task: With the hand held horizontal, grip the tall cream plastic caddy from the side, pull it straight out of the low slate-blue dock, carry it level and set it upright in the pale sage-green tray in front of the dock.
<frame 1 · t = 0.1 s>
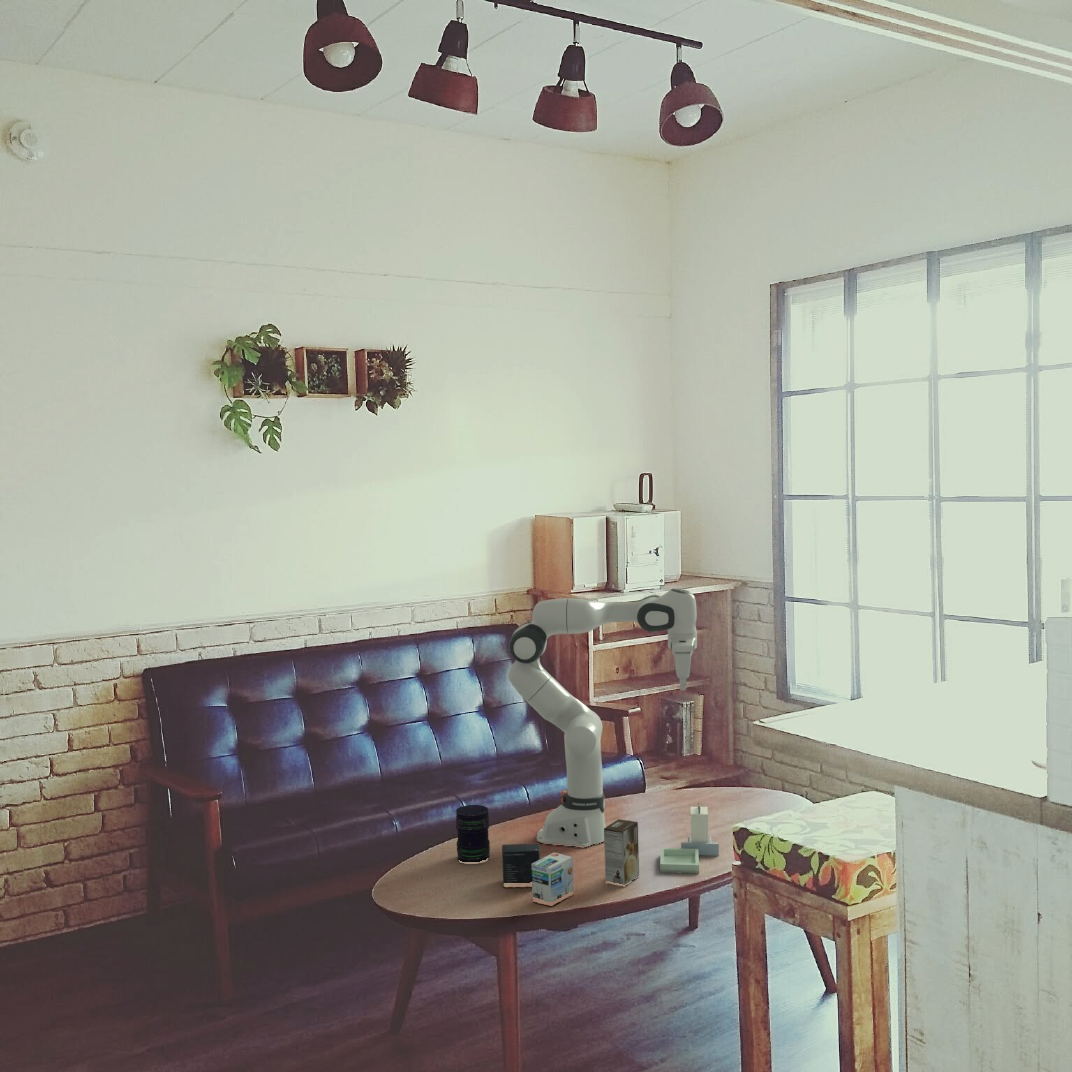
hand: (682, 686, 344), 48 cm above the table, tool pointing down, fingers open, 8 cm apart
dock: (699, 849, 339), on the table
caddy: (699, 849, 339), resting in dock
storage jar: (473, 859, 335), on the table
box: (521, 884, 315), on the table
light bulb box: (553, 899, 304), on the table
coffee box: (622, 881, 316), on the table
tray: (679, 864, 327), on the table
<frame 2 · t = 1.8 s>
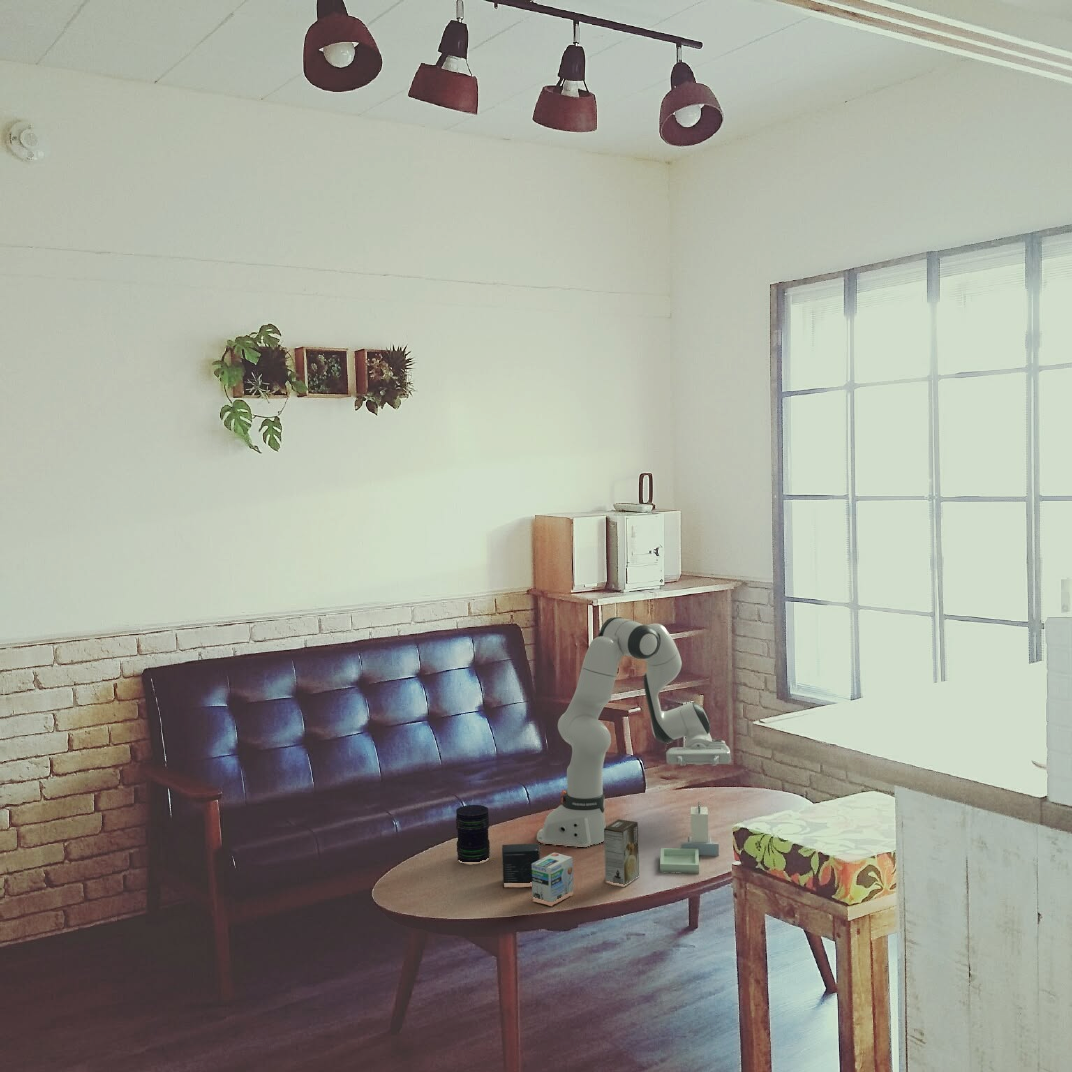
hand: (698, 763, 350), 23 cm above the table, tool horizontal, fingers open, 8 cm apart
nothing on the table moved.
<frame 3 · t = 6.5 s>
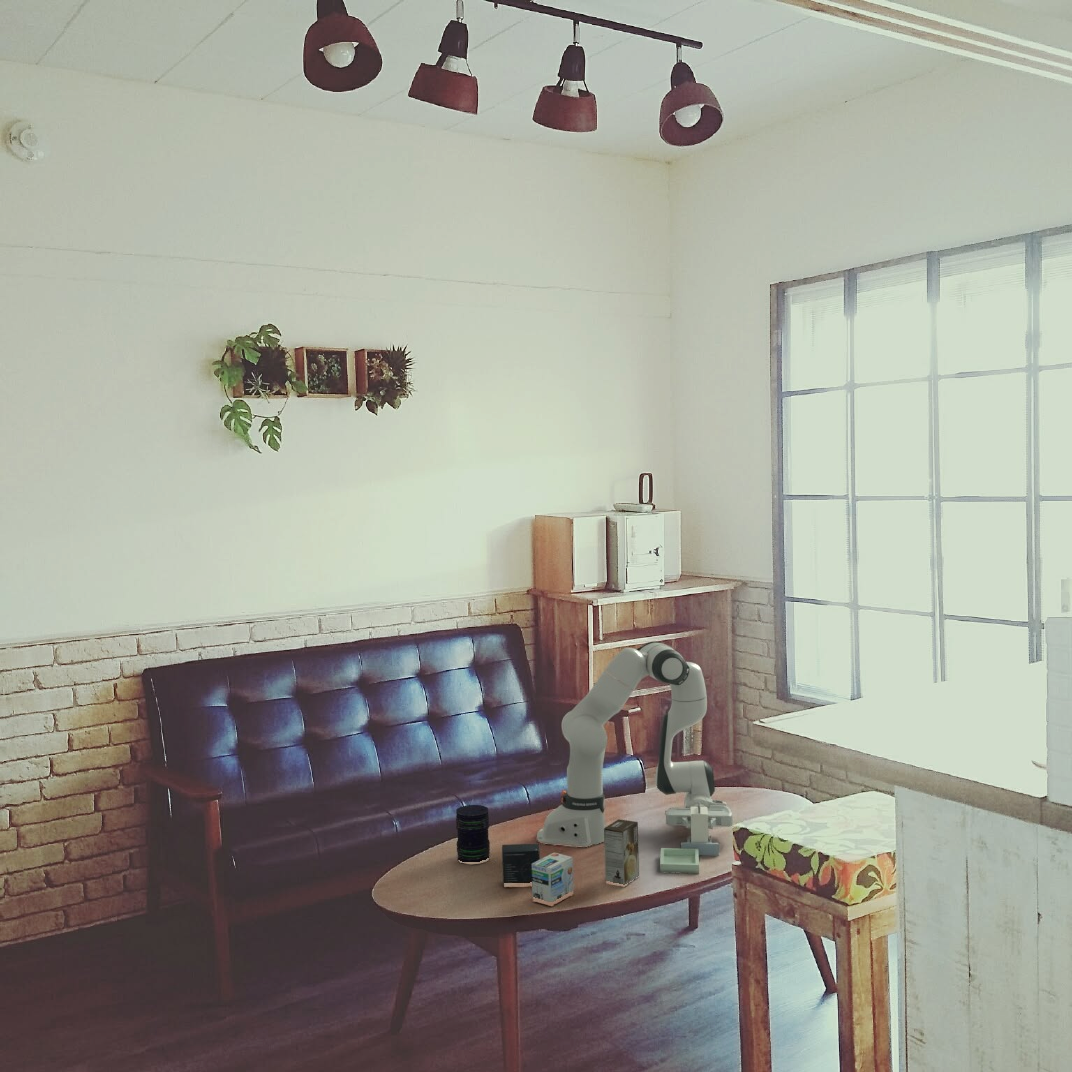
hand: (699, 825, 337), 8 cm above the table, tool horizontal, fingers closed on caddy, 5 cm apart
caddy: (699, 849, 339), resting in dock, touching gripper
everything else where it was.
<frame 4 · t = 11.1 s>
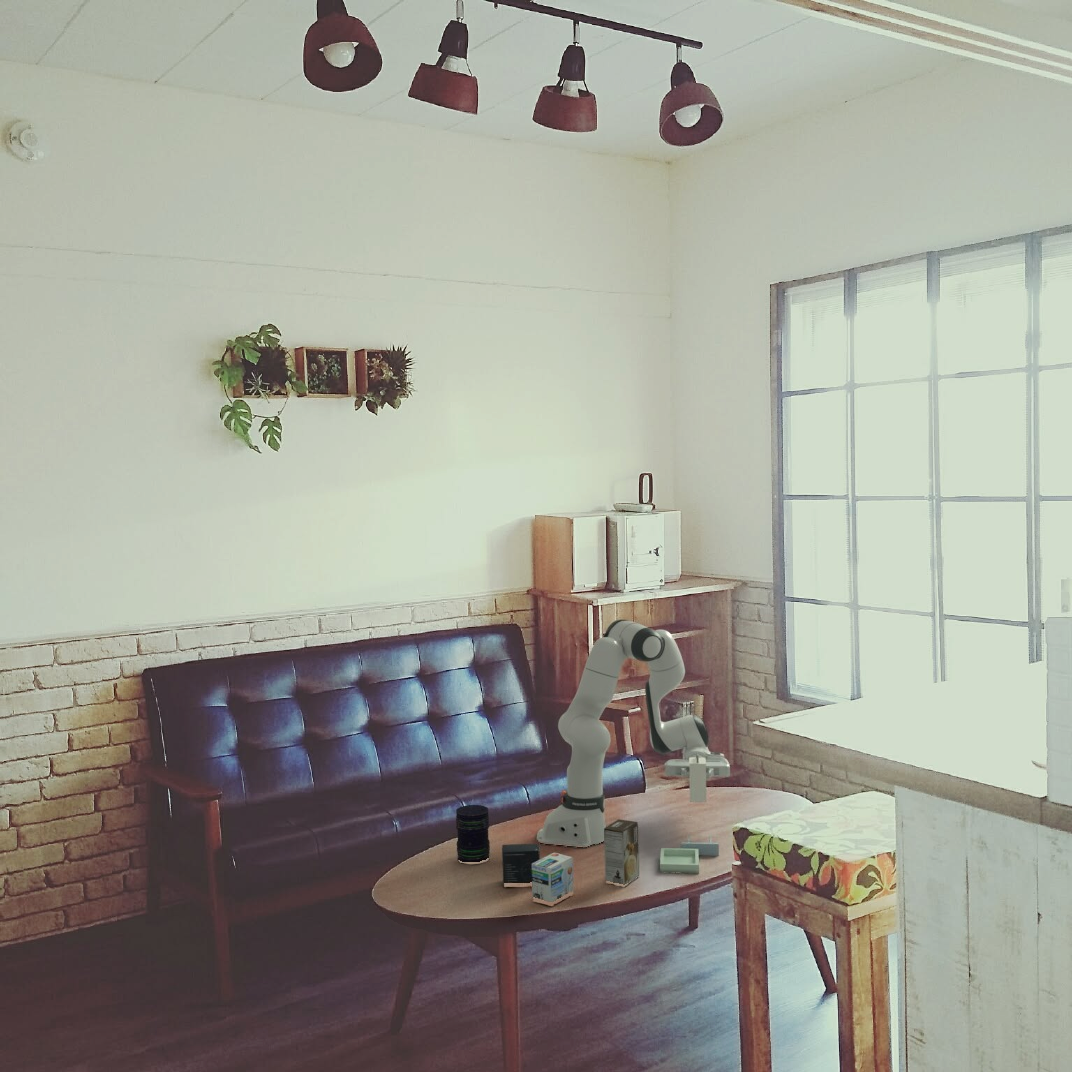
hand: (697, 775, 347), 20 cm above the table, tool horizontal, fingers closed on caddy, 5 cm apart
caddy: (697, 798, 348), point 12 cm above the table, touching gripper
everything else where it was.
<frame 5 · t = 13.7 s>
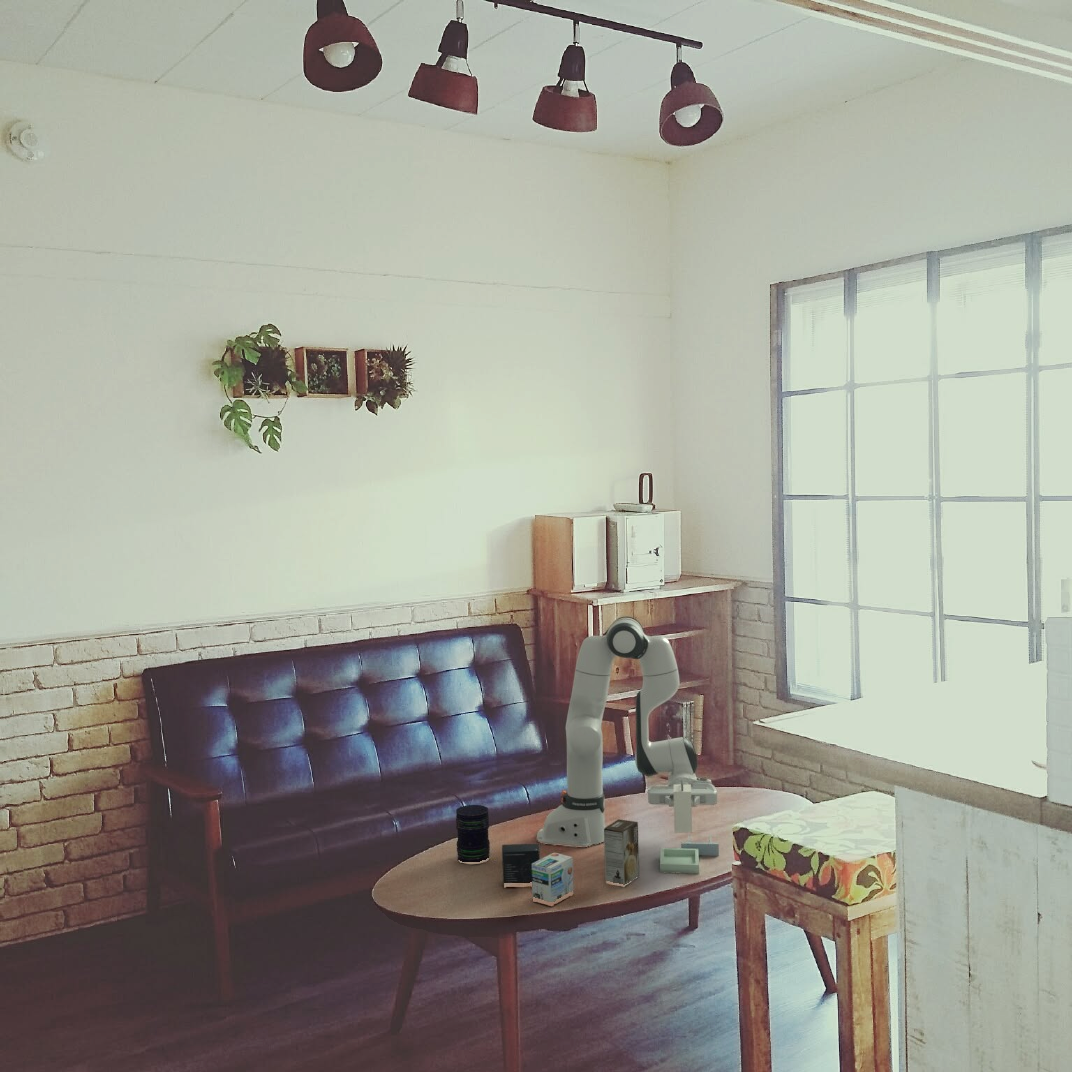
hand: (682, 804, 324), 18 cm above the table, tool horizontal, fingers closed on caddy, 5 cm apart
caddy: (683, 828, 326), point 11 cm above the table, touching gripper
everything else where it was.
when the fingers open (10 cm above the table, at t = 15.9 s): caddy drops 1 cm, resting on tray.
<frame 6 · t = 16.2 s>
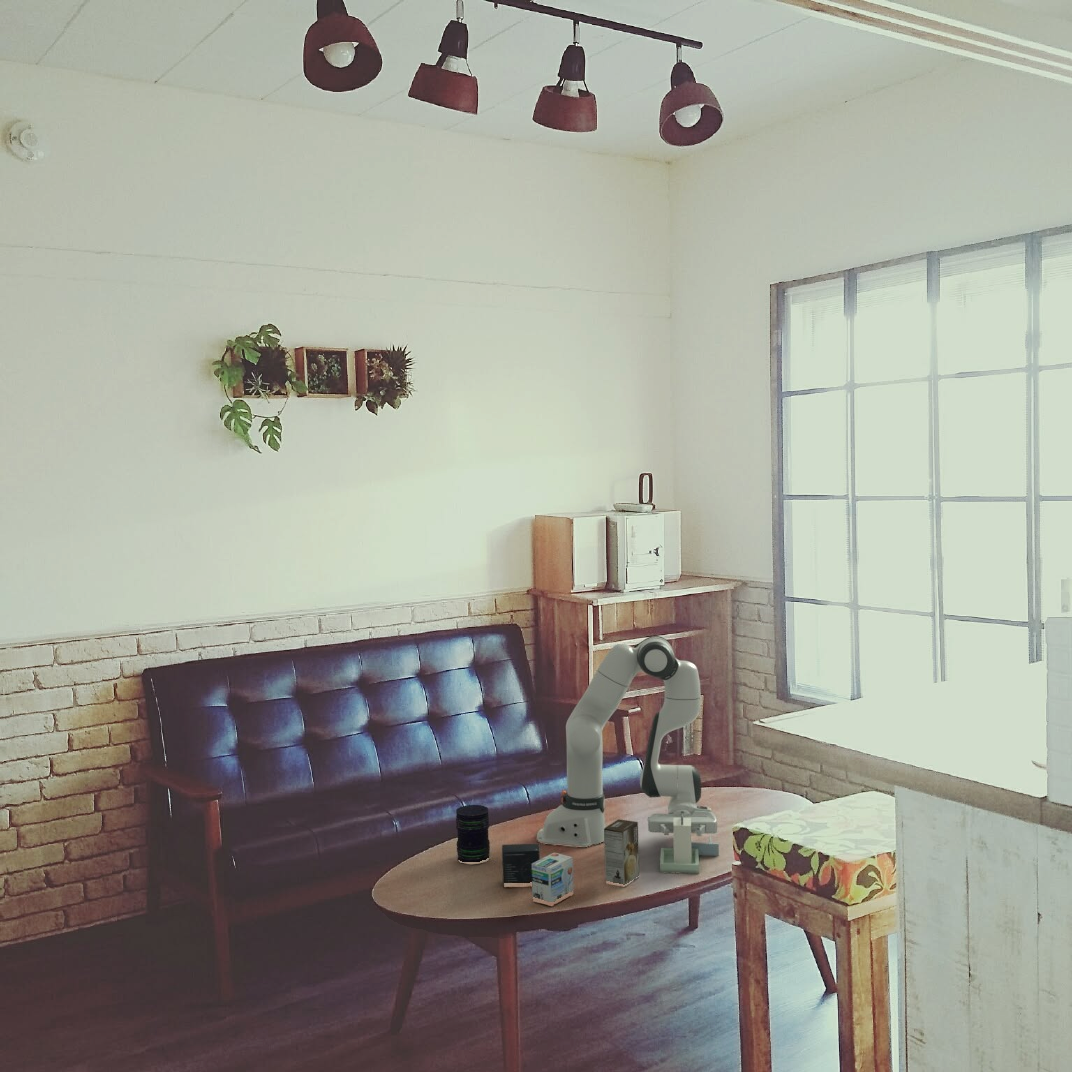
hand: (682, 832, 325), 10 cm above the table, tool horizontal, fingers open, 8 cm apart
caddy: (682, 862, 326), point 1 cm above the table, touching tray
everything else where it was.
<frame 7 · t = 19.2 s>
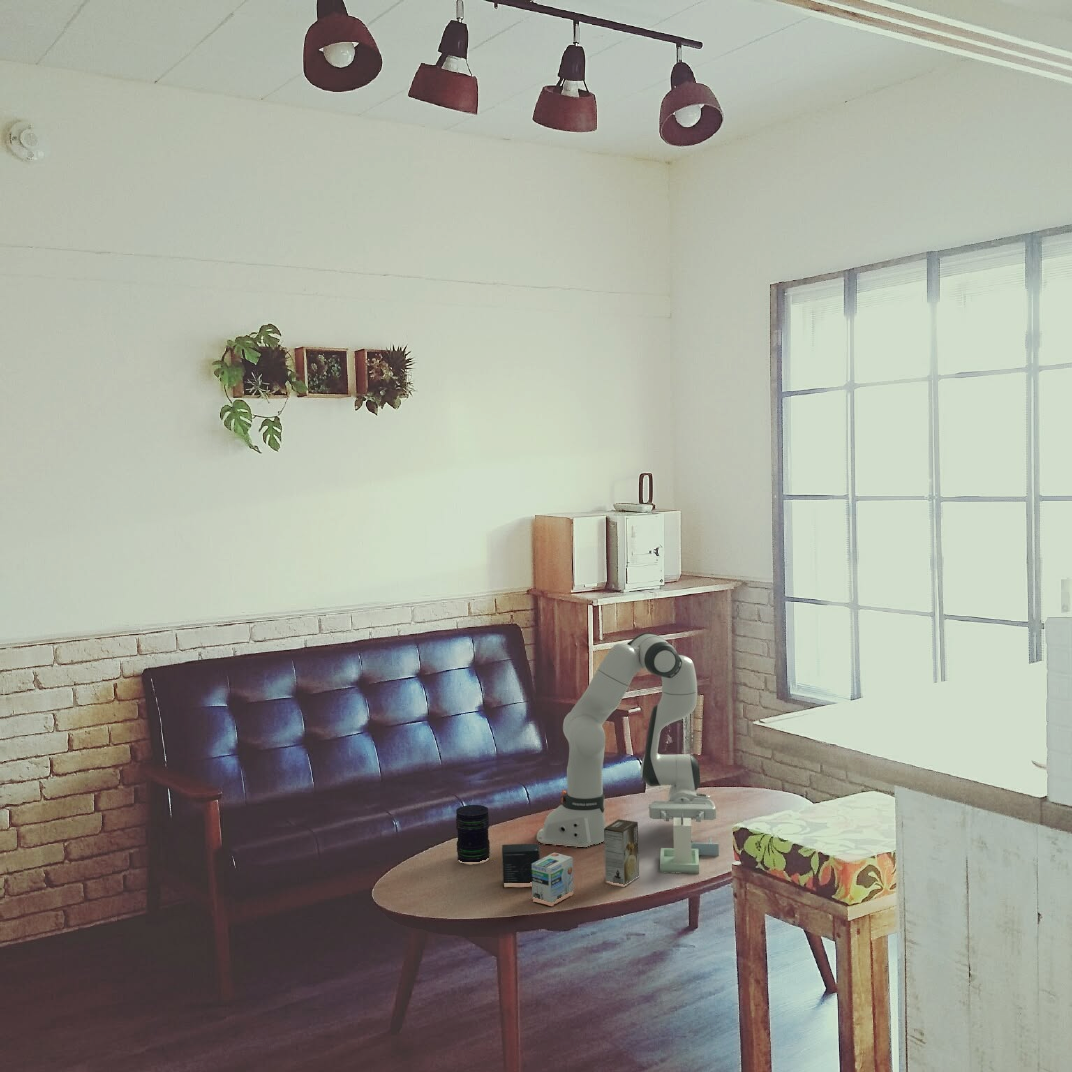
hand: (682, 819, 337), 10 cm above the table, tool horizontal, fingers open, 8 cm apart
nothing on the table moved.
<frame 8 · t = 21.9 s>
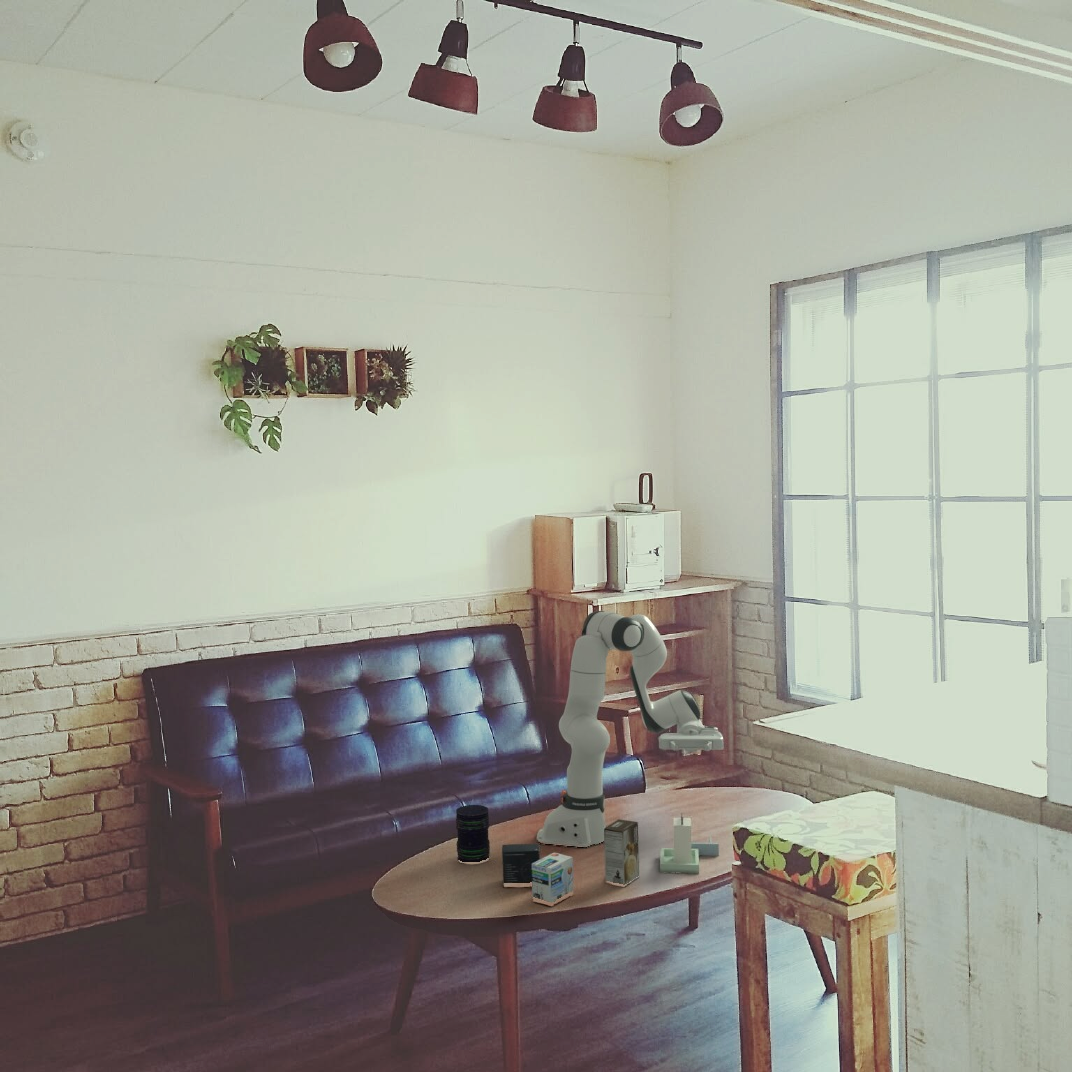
hand: (691, 748, 348), 28 cm above the table, tool horizontal, fingers open, 8 cm apart
nothing on the table moved.
at the end: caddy inside the target area on the tray (0.9 cm from its centre), point 0.8 cm above the tray's base; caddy tilted 0°; the gripper is holding nothing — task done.
